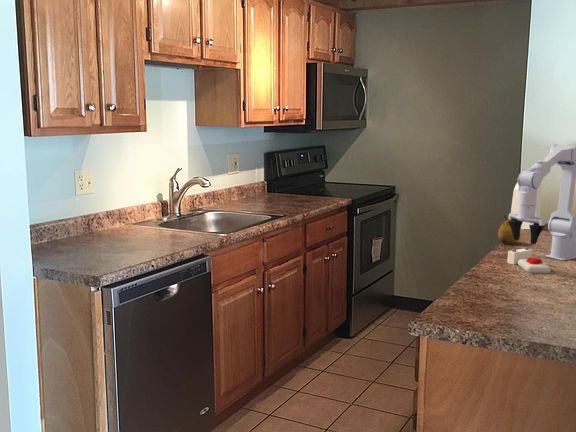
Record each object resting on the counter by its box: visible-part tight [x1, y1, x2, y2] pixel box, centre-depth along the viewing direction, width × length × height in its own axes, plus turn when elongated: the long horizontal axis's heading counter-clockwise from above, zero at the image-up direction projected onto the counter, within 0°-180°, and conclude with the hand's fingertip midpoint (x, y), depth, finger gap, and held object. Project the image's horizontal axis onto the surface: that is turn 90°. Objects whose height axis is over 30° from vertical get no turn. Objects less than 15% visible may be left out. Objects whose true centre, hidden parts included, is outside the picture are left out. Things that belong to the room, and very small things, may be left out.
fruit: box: [497, 215, 521, 245], centre depth 273 cm, size 9×9×12 cm
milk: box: [510, 182, 542, 230], centre depth 307 cm, size 12×12×26 cm
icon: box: [517, 257, 552, 275], centre depth 232 cm, size 12×4×10 cm
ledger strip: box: [506, 246, 533, 265], centre depth 242 cm, size 10×3×5 cm, turn 121°
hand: (524, 241), depth 231 cm, fingers open, 7 cm apart
